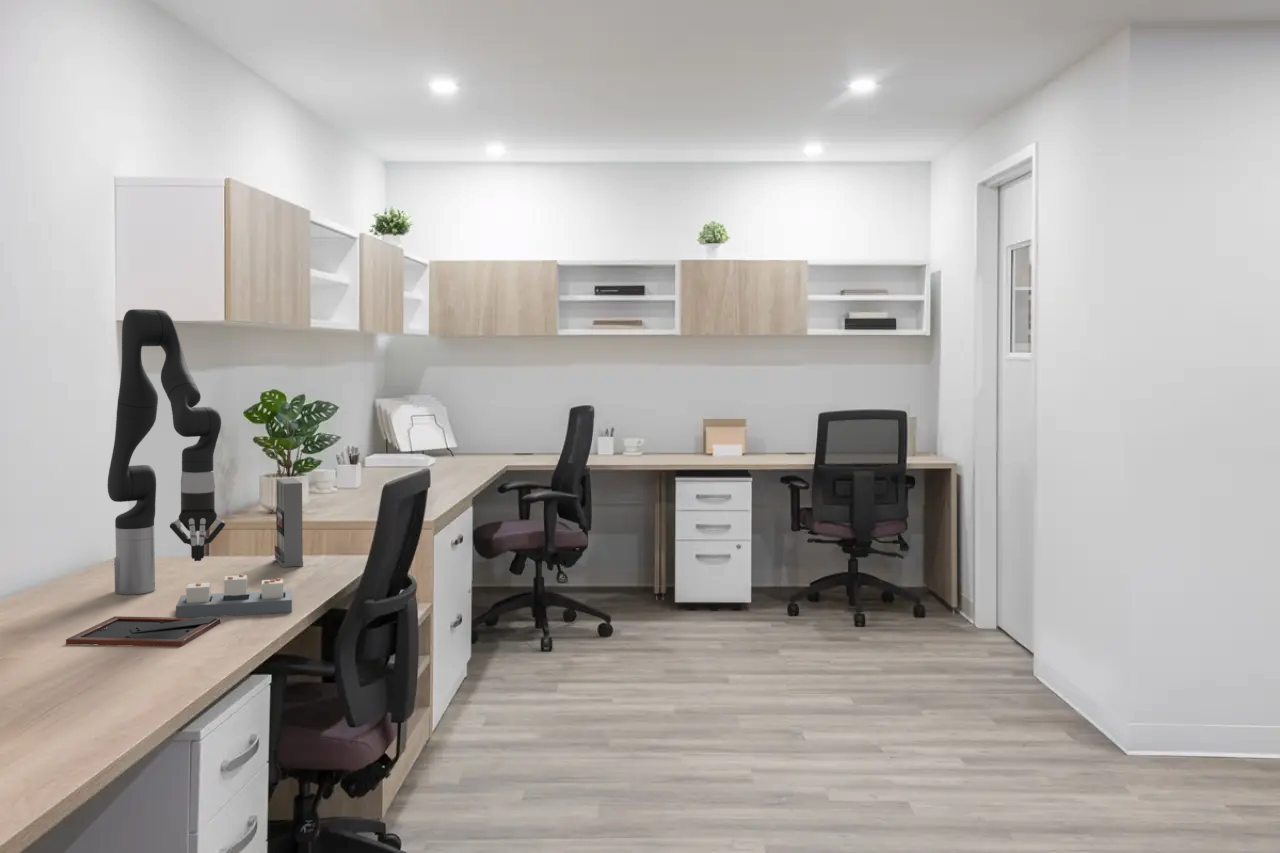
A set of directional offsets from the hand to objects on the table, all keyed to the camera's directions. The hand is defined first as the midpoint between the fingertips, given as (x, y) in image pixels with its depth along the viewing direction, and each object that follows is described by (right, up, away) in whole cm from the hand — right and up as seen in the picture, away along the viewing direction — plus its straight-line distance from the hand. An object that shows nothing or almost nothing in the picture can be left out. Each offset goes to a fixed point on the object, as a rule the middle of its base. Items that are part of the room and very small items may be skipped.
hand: (198, 560), depth 253 cm
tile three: (+16, -10, +6) cm, 20 cm away
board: (+8, -13, +3) cm, 15 cm away
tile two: (+8, -9, +3) cm, 12 cm away
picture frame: (-3, -15, -19) cm, 25 cm away
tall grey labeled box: (+1, -9, +62) cm, 63 cm away
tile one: (0, -10, 0) cm, 10 cm away
